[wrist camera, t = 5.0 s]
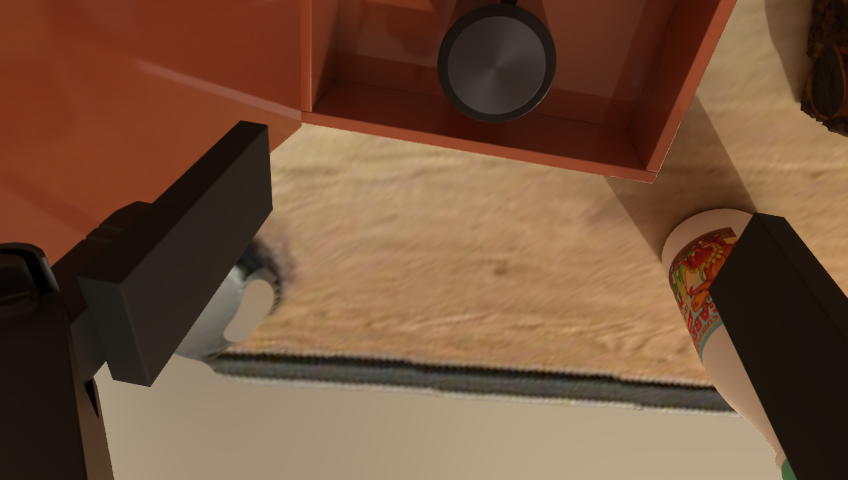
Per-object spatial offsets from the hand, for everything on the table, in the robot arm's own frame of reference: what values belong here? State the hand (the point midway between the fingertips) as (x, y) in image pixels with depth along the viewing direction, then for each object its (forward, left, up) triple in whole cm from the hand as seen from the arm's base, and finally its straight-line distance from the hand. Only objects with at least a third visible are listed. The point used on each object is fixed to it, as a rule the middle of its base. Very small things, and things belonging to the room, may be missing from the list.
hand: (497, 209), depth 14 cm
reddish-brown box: (0, 0, -23) cm, 23 cm away
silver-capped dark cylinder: (0, 0, -22) cm, 22 cm away
